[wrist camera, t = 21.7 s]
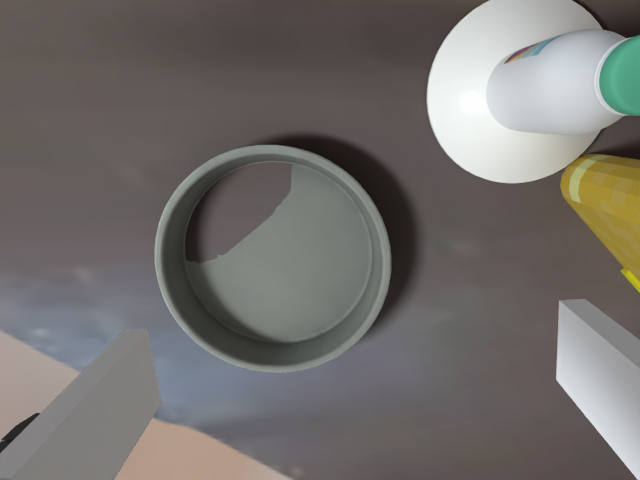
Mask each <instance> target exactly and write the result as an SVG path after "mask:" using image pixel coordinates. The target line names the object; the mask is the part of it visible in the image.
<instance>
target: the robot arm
mask: <svg viewBox="0 0 640 480" xmlns="http://www.w3.org/2000/svg"><path fill="white" fill-rule="evenodd" d="M556 380H557V381H558V383H559V384H560V385H561V386H562V387H563V389H564V390H565V391H566V392H567V394H568V395H569V396H570V397H571V398H572V400H573V401H574V402H575V403H576V405H577V406H578V407H579V408H580V409H581V411H582V412H583V413H584V414H585V416H586V417H587V418H588V419H589V421H590V422H591V423H592V424H593V425H594V427H595V428H596V429H597V430H598V432H599V433H600V434H601V435H602V436H603V438H604V439H605V440H606V441H607V443H608V444H609V445H610V446H611V448H612V449H613V450H614V451H615V452H616V454H617V455H618V456H619V457H620V459H621V460H622V461H623V462H624V463H625V465H626V466H627V467H628V468H629V470H630V471H631V472H632V473H633V474H634V476H635V477H636V478H637V479H638V480H640V340H639V339H638V338H636V337H635V336H634V335H632V334H631V333H630V332H628V331H627V330H626V329H624V328H623V327H622V326H620V325H619V324H618V323H616V322H615V321H614V320H612V319H611V318H610V317H608V316H607V315H606V314H604V313H603V312H602V311H600V310H599V309H598V308H596V307H595V306H594V305H592V304H591V303H590V302H588V301H587V300H586V299H574V300H559V321H558V348H557V375H556ZM161 403H162V400H161V395H160V390H159V385H158V380H157V375H156V370H155V365H154V360H153V355H152V350H151V345H150V339H149V334H148V329H147V328H143V329H129V330H124V331H123V332H122V333H121V334H120V335H119V336H118V337H117V338H116V339H115V340H114V341H113V342H112V343H111V344H110V345H109V346H108V347H107V348H106V349H105V350H104V351H103V352H102V353H101V354H100V355H99V356H98V357H97V358H96V359H95V360H94V361H93V362H92V363H91V364H90V365H89V366H88V367H87V368H86V369H85V370H84V371H83V372H82V373H81V374H80V375H79V376H78V377H77V378H76V379H75V380H74V381H73V382H72V383H71V384H70V385H69V386H68V387H67V388H66V389H64V390H63V392H61V393H60V394H59V395H58V396H57V397H56V399H54V400H53V401H52V403H50V404H49V405H48V406H47V407H46V409H44V410H43V411H42V413H36V414H34V415H32V416H31V417H29V418H28V419H26V420H24V421H23V422H21V423H20V424H18V425H16V426H15V427H14V428H13V429H12V430H11V431H10V432H9V433H8V434H7V435H6V436H5V437H4V438H3V439H2V440H1V443H0V480H114V479H115V477H116V475H117V474H118V472H119V471H120V469H121V467H122V466H123V464H124V462H125V461H126V459H127V457H128V456H129V454H130V453H131V451H132V449H133V448H134V446H135V445H136V443H137V442H138V440H139V438H140V437H141V435H142V433H143V432H144V430H145V429H146V427H147V425H148V424H149V422H150V421H151V419H152V417H153V416H154V414H155V413H156V411H157V409H158V408H159V406H160V405H161Z"/></svg>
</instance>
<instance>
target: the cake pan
mask: <svg viewBox="0 0 640 480" xmlns="http://www.w3.org/2000/svg"><path fill="white" fill-rule="evenodd" d="M262 162H282V163H290V164H293V165H292V170H291V190H290V192H289V194H288V196H287V198H286V199H284V200H283V201H282V204H280V205H279V206H277V207H276V209H275V212H274V214H273V215H272V216H270V217H269V218H268V219H267V220H266V221H265V222H263V223H262V224H261V225H260V226H259V227H257V228H256V229H255V230H254V231H253V232H251V233H250V234H249V235H248V236H247V237H245V238H244V239H243V240H242V241H241V242H239V243H238V244H237V245H236V246H235V247H233V248H232V249H231V250H230V251H229V252H227V253H226V254H224V255H222V256H221V255H218V256H217V258H216V259H213V260H209V261H206V262H202V263H199V264H197V263H196V261H195V260H194V262H195V263H194V262H191V261H188V260H186V255H185V238H186V230H187V227H188V223H189V220H190V218H191V215H192V213H193V211H194V209H195V207H196V205H197V203H198V202H199V200H200V199H202V198H203V195H204V193H205V192H206V191H207V190H208V189H209V188H210V187H211V186H212V185H213V184H214V183H216V182H217V181H218V180H219V179H221V178H222V177H224V176H225V175H227V174H228V173H230V172H232V171H235V170H237V169H239V168H242V167H244V166H247V165H251V164H256V163H262ZM155 269H156V274H157V279H158V283H159V287H160V290H161V293H162V295H163V298H164V300H165V302H166V304H167V306H168V308H169V310H170V312H171V313H172V315H173V316H174V318H175V319H176V321H177V322H178V324H179V325H180V326H181V327H182V329H183V330H184V331H185V332H186V333H187V334H188V335H189V336H190V337H191V338H192V339H193V340H194V341H195V342H196V343H198V344H199V345H200V346H201V347H203V348H204V349H206V350H207V351H208V352H210V353H212V354H213V355H215V356H217V357H218V358H220V359H222V360H224V361H226V362H229V363H231V364H234V365H236V366H240V367H243V368H246V369H251V370H255V371H261V372H274V373H279V372H294V371H300V370H304V369H308V368H312V367H315V366H318V365H321V364H323V363H326V362H328V361H330V360H332V359H334V358H336V357H338V356H339V355H341V354H342V353H344V352H345V351H347V350H348V349H349V348H351V347H352V346H353V345H354V344H355V343H356V342H358V341H359V340H360V338H362V336H363V335H364V334H365V333H366V332H367V331H368V329H369V328H370V327H371V325H372V324H373V322H374V321H375V319H376V318H377V316H378V314H379V312H380V310H381V308H382V306H383V304H384V301H385V298H386V295H387V293H388V288H389V283H390V276H391V250H390V242H389V237H388V234H387V231H386V227H385V225H384V222H383V220H382V217H381V215H380V213H379V211H378V209H377V207H376V206H375V204H374V202H373V201H372V199H371V198H370V196H369V195H368V194H367V192H366V191H365V190H364V189H363V187H362V186H361V185H360V184H359V183H358V182H357V181H356V180H355V179H354V178H353V177H352V176H351V175H349V174H348V173H347V172H346V171H345V170H343V169H342V168H340V167H339V166H338V165H336V164H334V163H333V162H331V161H330V160H328V159H325V158H324V157H322V156H319V155H317V154H315V153H312V152H309V151H306V150H303V149H299V148H295V147H289V146H282V145H254V146H247V147H242V148H239V149H234V150H232V151H228V152H226V153H223V154H221V155H219V156H216V157H215V158H212V159H211V160H209V161H207V162H206V163H204V164H203V165H202V166H200V167H199V168H197V169H196V170H195V171H194V172H192V173H191V174H190V175H189V176H188V177H187V178H186V179H185V180H184V181H183V182H182V183H181V184H180V185H179V187H178V188H177V189H176V191H175V192H174V193H173V195H172V196H171V198H170V200H169V201H168V203H167V205H166V207H165V209H164V211H163V214H162V216H161V219H160V222H159V225H158V230H157V234H156V240H155Z"/></svg>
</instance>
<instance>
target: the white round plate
mask: <svg viewBox="0 0 640 480" xmlns="http://www.w3.org/2000/svg"><path fill="white" fill-rule="evenodd" d="M585 29H601V30H603V29H602V28H601V26H600V24H599V23H598V22H597V21H596V20H595V18H594V17H593V16H592V15H591V14H590V13H589V12H588V11H587V10H585V9H584V8H583V7H582V6H580V5H579V4H577V3H575V2H574V1H572V0H490V1H488V2H486V3H484V4H482V5H481V6H479V7H478V8H476V9H474V10H473V11H472V12H470V13H469V14H468V15H467V16H466V17H464V18H463V19H462V20H461V21H460V22H459V23H458V24H457V25H456V26H455V27H454V28H453V29H452V30H451V31H450V33H449V34H448V35H447V37H446V38H445V39H444V41H443V42H442V44H441V46H440V48H439V49H438V51H437V53H436V56H435V58H434V60H433V63H432V66H431V69H430V73H429V76H428V82H427V90H426V104H427V113H428V118H429V122H430V125H431V128H432V131H433V133H434V136H435V137H436V139H437V141H438V143H439V145H440V146H441V147H442V149H443V150H444V152H445V153H446V154H447V155H448V156H449V157H450V158H451V159H452V160H453V161H454V162H455V163H456V164H458V165H459V166H460V167H462V168H463V169H465V170H466V171H468V172H470V173H472V174H474V175H476V176H479V177H481V178H484V179H487V180H491V181H495V182H502V183H522V182H529V181H534V180H537V179H541V178H544V177H546V176H549V175H551V174H554V173H555V172H557V171H559V170H561V169H563V168H564V167H566V166H567V165H569V164H570V163H572V162H573V161H574V160H576V159H577V158H578V157H579V156H580V155H581V154H582V153H583V152H584V151H585V150H586V149H587V148H588V147H589V146H590V144H591V143H592V142H593V141H594V139H595V138H596V137H597V135H598V134H599V132H600V131H601V129H600V130H598V131H595V132H591V133H586V134H580V135H555V134H541V133H530V132H520V131H515V130H511V129H508V128H506V127H504V126H502V125H501V124H500V123H498V122H497V121H496V120H495V119H494V117H493V116H492V114H491V113H490V111H489V108H488V105H487V100H486V88H487V83H488V80H489V77H490V75H491V73H492V71H493V70H494V68H495V67H496V66H497V64H498V63H499V62H500V61H501V60H502V59H504V58H505V57H506V56H508V55H509V54H511V53H513V52H515V51H517V50H520V49H523V48H525V47H528V46H531V45H533V44H536V43H539V42H542V41H545V40H547V39H550V38H553V37H556V36H559V35H562V34H566V33H570V32H573V31H577V30H585Z"/></svg>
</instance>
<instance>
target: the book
mask: <svg viewBox="0 0 640 480" xmlns="http://www.w3.org/2000/svg"><path fill="white" fill-rule="evenodd" d="M560 187H561V191H562V195H563V197H564V198H565V199H566V201H567V202H568V203H569V204H570V205H571V206H572V208H573V209H574V210H575V211H576V212H577V213H578V215H579V216H580V217H581V218H582V219H583V220H584V222H585V223H586V224H587V225H588V226H589V227H590V229H591V230H592V231H593V232H594V233H595V234H596V236H597V237H598V238H599V239H600V240H601V241H602V243H603V244H604V245H605V246H606V247H607V248H608V249H609V251H610V252H611V253H612V254H613V255H614V256H615V258H616V259H617V260H618V261H619V262H620V263H621V265H622V266H623V267H624V268H623V269H622V270H620V271H621V272H622V273H623V274H624V275H625V276H626V278H627V279H628V280H629V281H630V282H631V283H632V285H633V286H634V287H635V288H636V289H637V290H638V292H639V293H640V160H638V159H631V158H625V157H618V156H611V155H605V154H585V155H583V156H580V157H578V158H577V159H576V160H574V161H573V162H572V163H570V164H569V165H568V166H567V168H566V169H565V171H564V173H563V175H562V178H561V185H560Z"/></svg>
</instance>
